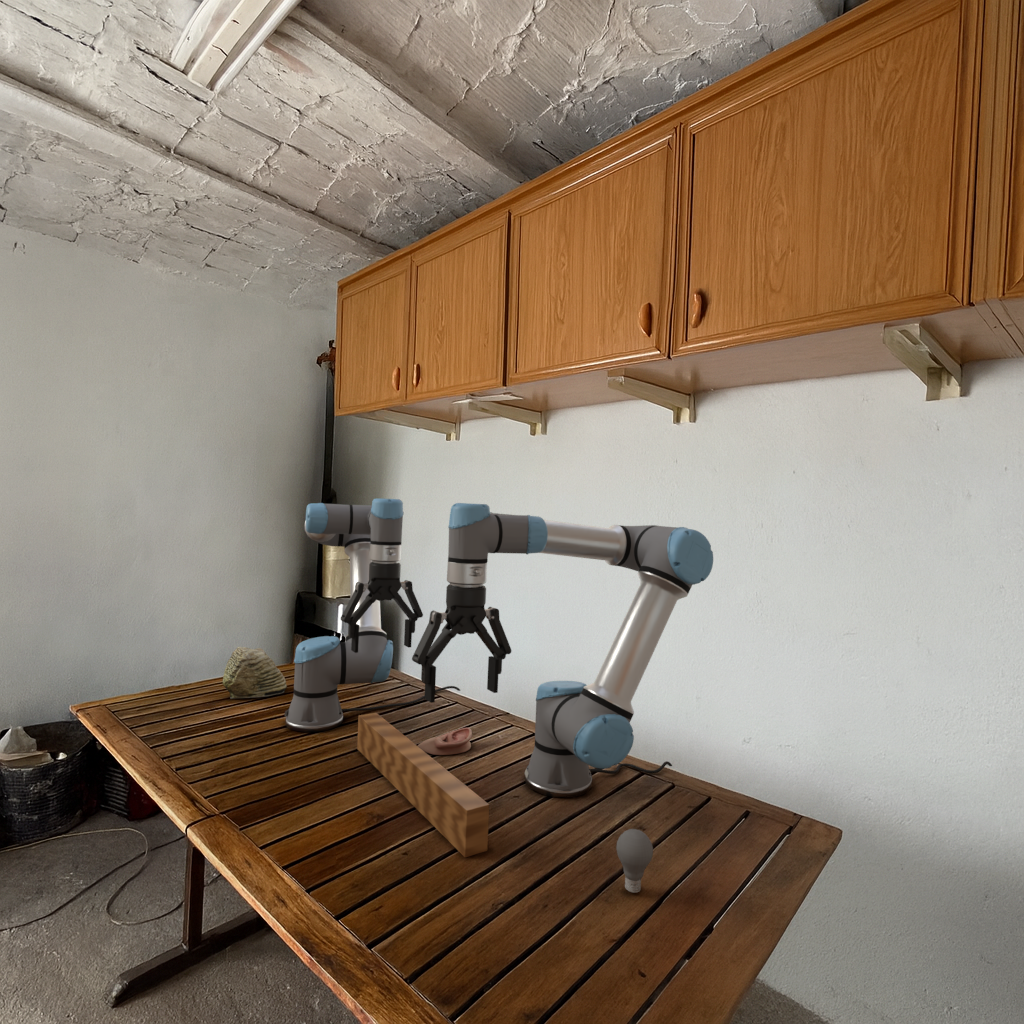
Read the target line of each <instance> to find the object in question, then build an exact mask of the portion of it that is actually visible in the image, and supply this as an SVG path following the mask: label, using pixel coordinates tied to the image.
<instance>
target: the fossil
mask: <svg viewBox="0 0 1024 1024" xmlns="http://www.w3.org/2000/svg"><path fill="white" fill-rule="evenodd" d="M222 676H223V677H222V685H223V687H224V688H225V690H226V691H228V693H229V698H230V699H250V698H264V697H271V696H275V695H281V694H284V693H285V691H286V689H287V687H288V686H287V680H286V678H285V676H284V674H283V673H282V672H281V669H279V668H278V667H277V665H276V663H275V662H274V660H273V659H272V658H271V657H270V656H269V655H268V654H267V653H266V652H265V650H264V649H263V648H260V647H258V648H251V647H247V646H246V647H245V646H238V647H237V648H236V649H235V650H233V651H232V653H231V656H230V657H229V659H228V660H227V663H226V666H225V668H224V671H223V675H222Z"/></svg>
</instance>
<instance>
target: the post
mask: <svg viewBox="0 0 1024 1024" xmlns="http://www.w3.org/2000/svg"><path fill="white" fill-rule="evenodd" d="M357 718H358V720H357V743H356V749H357V751H358V752H359V753H361V755H362V756H363V757H364V758H365V759H366V760H367V761H368V762H369V763H370V764H371V765H372V766H373V767H374V768H375V769H376V770H377V771H378V772H379V773H380V774H381V775H382V776H383V777H384V778H385V779H386V780H387V781H388V782H389V783H390V784H391V785H392V786H393V787H394V788H395V789H396V790H397V791H398V792H399V793H400V794H401V795H402V796H403V797H404V798H405V799H406V800H407V801H408V802H409V803H410V804H411V805H412V807H414V808H415V809H416V810H417V811H418V812H419V813H420V814H421V815H422V816H423V817H424V819H426V820H427V821H428V822H429V823H430V824H431V825H432V826H433V827H434V828H435V829H436V830H437V831H438V833H440V834H441V835H442V836H443V837H444V838H445V839H446V840H447V841H448V842H449V843H450V844H451V846H452V847H454V849H456V850H457V851H458V853H460V854H461V855H462V856H463V858H469V857H472V856H474V855H479V854H481V853H484V852H487V851H488V848H489V847H488V845H489V844H488V842H489V823H490V822H489V821H490V804H489V803H488V802H487V801H485V800H484V798H482V797H481V796H480V795H478V794H477V793H476V792H475V791H473V790H472V789H471V788H470V787H468V786H467V785H466V784H465V783H463V782H462V781H461V780H460V779H458V778H457V777H456V776H455V775H454V774H453V773H451V772H450V771H448V770H447V769H446V768H445V767H444V766H442V765H441V764H440V763H439V762H437V761H436V759H434V758H433V757H432V756H430V755H429V753H426V752H424V751H423V750H421V749H420V748H419V747H418V745H417V744H416V743H414V742H413V741H412V740H411V739H409V738H408V737H407V736H406V735H404V734H403V733H402V731H401V732H400V731H399V730H398V729H397V728H396V727H395V726H393V724H391V723H389V721H387V720H386V719H384V717H382V716H381V715H380V714H379V713H378V712H371V713H365V714H361V715H360V714H358V717H357Z"/></svg>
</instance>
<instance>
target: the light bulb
mask: <svg viewBox="0 0 1024 1024" xmlns="http://www.w3.org/2000/svg"><path fill="white" fill-rule="evenodd" d="M615 849H616V854H617V857H618V859H619V861H620V863H621V865H622V867H623V873H624V874H623V875H624V876H625V878H624V888H625V890H627V891H628V892H630V893H634V894H635V893H639V892H640V891H641V889H642V887H641V886H642V879H643V877H644V875H645V871H646V868H647V867H648V866H649V864H650V863H651V861H652V859H653V855H654V847H653V843H652V841H651V838H649V836H648V835H647V834H646V833H645V832H643V831H642V830H641V829H636V828H629V829H627V830H625V831H623V832H622V833H621V834H620V835H619V837H618V839H617V841H616V847H615Z"/></svg>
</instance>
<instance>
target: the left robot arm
mask: <svg viewBox="0 0 1024 1024" xmlns="http://www.w3.org/2000/svg"><path fill="white" fill-rule="evenodd" d="M305 509H306V510H305V521H304V524H303V525H304V527H303V529H304V533H305V534H306V536H307V538H309V539H310V540H311V541H313V542H315V543H318V544H321V545H324V546H329V547H340V548H342V547H343V548H344V554H345V555H346V556H347V557H349V589H350V592H349V594H350V595H349V596H350V598H349V601H348V603H347V605H346V606H345V608H344V611H343V612H342V615H341V616H340V621H341V622H343V623H345V624H347V625H348V627H347V629H348V630H347V631H348V632H347V634H346V635H345V641H341V640H340V638H339V637H338V636H335V635H331V636H329V635H324V636H317V637H311V638H308V639H306V640H303V641H301V642H299V643H298V644H297V645H296V648H295V655H294V660H293V663H294V680H293V695H292V696H293V697H292V699H291V702H290V704H289V708H288V709H287V710H285V711H284V717H285V726H286V728H287V729H289V730H291V731H294V732H295V731H296V732H301V733H316V732H325V731H329V730H332V729H335V728H337V727H339V726H340V725H342V723H343V722H344V714H343V712H365V711H373V710H379V709H386V708H392V707H402V706H407V705H412V704H415V703H418V702H420V701H421V700H424V698H425V694H424V695H422V696H421V697H418V698H416V699H414V700H411V701H407V702H399V703H390V704H384V705H377V706H371V707H370V706H369V707H353V708H342V706H341V702H340V699H339V695H338V685H353V684H354V685H355V684H373V683H382V682H386V680H387V679H388V678H389V676H390V673H391V669H392V663H393V656H394V655H393V654H394V642H393V641H392V640H390V639H388V637H387V632H386V631H384V630H383V629H382V621H381V619H382V618H381V616H382V615H381V602H382V601H392V600H393V601H394V602H395V603H396V605H397V606H398V607H399V608H400V609H401V611H402V612H403V613H404V614H405V616H406V617H407V619H404V635H403V636H404V637H403V639H404V640H403V646H404V647H407V648H412V637H413V634H414V633H415V632H416V621H418V619H420V618H423V616H424V612H423V611H422V608H421V606H420V604H419V602H418V599H417V597H416V595H415V592H414V589H413V588H414V587H413V582H412V581H411V580H408V579H405V580H404V581H401V572H402V571H401V570H402V569H401V568H402V564H401V562H400V561H401V560H402V542H403V541H402V540H403V520H404V514H405V513H404V501H402V499H399V498H379V497H378V498H373V499H372V501H371V504H340V503H323V502H317V503H308V504H307V505H306V508H305ZM401 589H402V590H403V591H404V593H405V595H406V597H407V600H408V603H409V604H410V607H411V608H410V607H409V606H408V604H407V603H406V602H405V600H404V599H403V597H402V596H401V595H400V594H399V591H400V590H401ZM448 689H454V690H457V692H460V691H461V688H459V687H457V686H455V685H447V686H443V687H440V688H437V689H436V688H435V693H437V692H441V691H444V690H448Z"/></svg>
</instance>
